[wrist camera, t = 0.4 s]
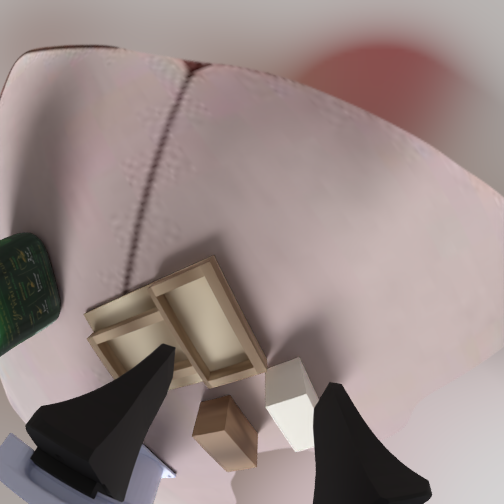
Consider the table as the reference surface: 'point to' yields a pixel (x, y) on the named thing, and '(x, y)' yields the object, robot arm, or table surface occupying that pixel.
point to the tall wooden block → (226, 434)
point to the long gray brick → (291, 402)
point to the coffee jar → (25, 290)
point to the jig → (180, 328)
